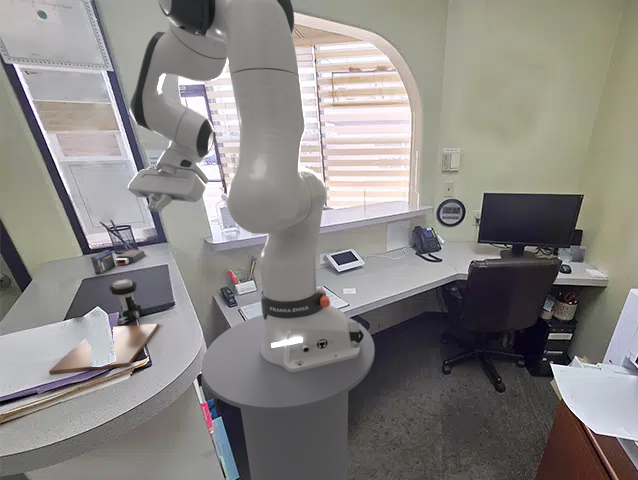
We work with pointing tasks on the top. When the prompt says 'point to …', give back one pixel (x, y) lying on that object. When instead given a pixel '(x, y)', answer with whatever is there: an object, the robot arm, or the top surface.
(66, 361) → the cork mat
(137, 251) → the usb drive
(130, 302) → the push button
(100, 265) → the mini dv tape
